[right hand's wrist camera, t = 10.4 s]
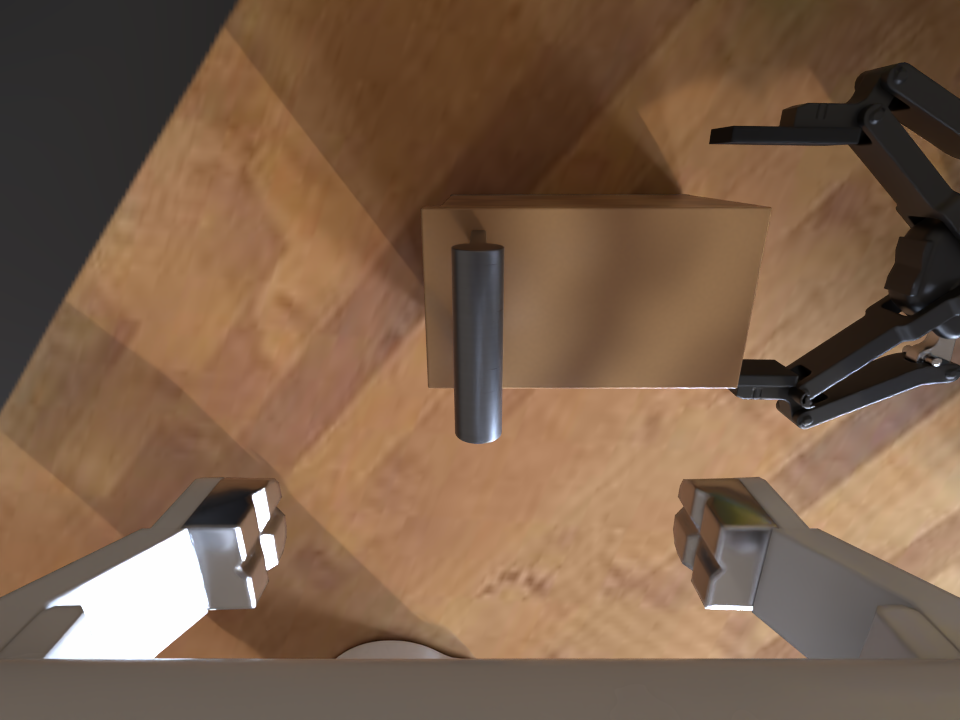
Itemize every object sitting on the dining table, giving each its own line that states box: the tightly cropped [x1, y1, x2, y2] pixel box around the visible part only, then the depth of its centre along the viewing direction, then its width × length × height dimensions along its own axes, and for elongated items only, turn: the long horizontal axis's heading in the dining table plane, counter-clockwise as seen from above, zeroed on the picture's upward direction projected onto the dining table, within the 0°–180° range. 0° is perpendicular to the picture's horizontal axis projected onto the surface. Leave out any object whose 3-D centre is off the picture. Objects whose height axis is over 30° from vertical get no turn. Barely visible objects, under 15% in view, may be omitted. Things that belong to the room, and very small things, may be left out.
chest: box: [442, 194, 753, 206], centre depth 31 cm, size 16×9×10 cm, turn 90°
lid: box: [421, 205, 772, 444], centre depth 23 cm, size 16×9×8 cm, turn 90°
